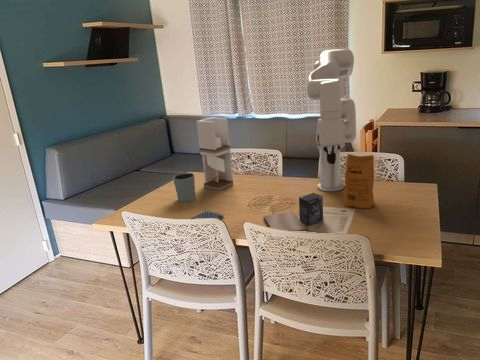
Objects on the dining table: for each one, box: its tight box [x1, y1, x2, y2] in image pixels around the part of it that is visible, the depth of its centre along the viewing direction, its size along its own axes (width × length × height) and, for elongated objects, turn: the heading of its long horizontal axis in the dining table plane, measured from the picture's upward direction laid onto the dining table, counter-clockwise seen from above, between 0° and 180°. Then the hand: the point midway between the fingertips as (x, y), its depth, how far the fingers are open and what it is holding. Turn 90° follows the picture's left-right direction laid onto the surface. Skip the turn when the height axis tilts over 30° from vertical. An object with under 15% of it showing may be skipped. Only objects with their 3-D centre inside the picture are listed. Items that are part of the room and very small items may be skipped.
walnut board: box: [263, 211, 309, 232], centre depth 158 cm, size 12×18×2 cm
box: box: [298, 192, 324, 227], centre depth 158 cm, size 8×6×11 cm
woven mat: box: [191, 210, 225, 220], centre depth 170 cm, size 10×11×2 cm
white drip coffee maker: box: [196, 116, 234, 191], centre depth 207 cm, size 11×11×35 cm
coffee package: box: [343, 153, 375, 209], centre depth 169 cm, size 10×12×22 cm
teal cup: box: [172, 172, 197, 203], centre depth 195 cm, size 10×10×12 cm
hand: (331, 163), depth 154 cm, fingers closed
